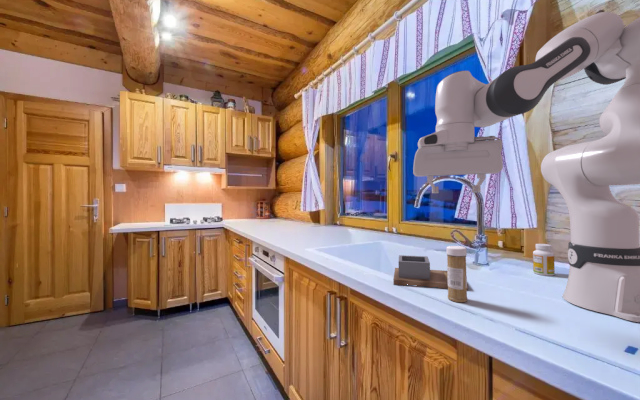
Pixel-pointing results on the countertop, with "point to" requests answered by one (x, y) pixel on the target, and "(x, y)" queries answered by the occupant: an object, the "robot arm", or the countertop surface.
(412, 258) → the grey square open box
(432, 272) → the wooden board
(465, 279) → the sprinkles bottle
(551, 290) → the countertop surface
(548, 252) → the supplement bottle
